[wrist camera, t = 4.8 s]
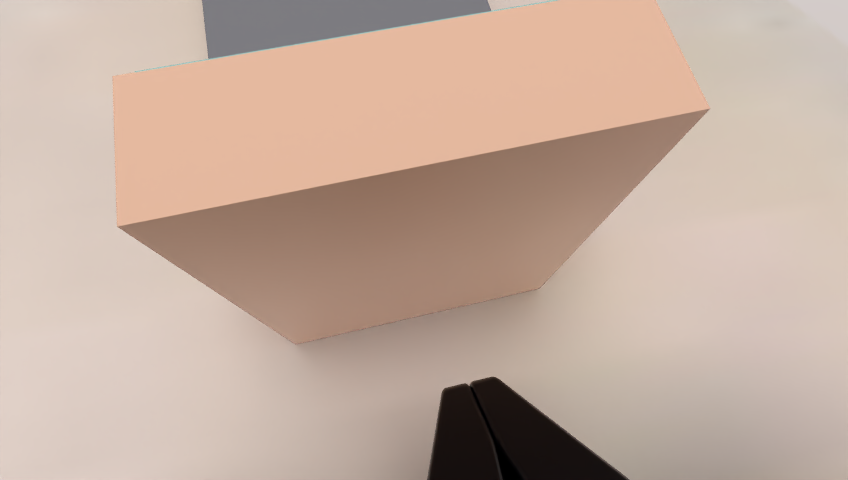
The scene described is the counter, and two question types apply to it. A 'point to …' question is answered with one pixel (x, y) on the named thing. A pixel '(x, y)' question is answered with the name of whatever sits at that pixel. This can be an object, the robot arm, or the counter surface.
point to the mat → (315, 20)
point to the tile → (399, 159)
